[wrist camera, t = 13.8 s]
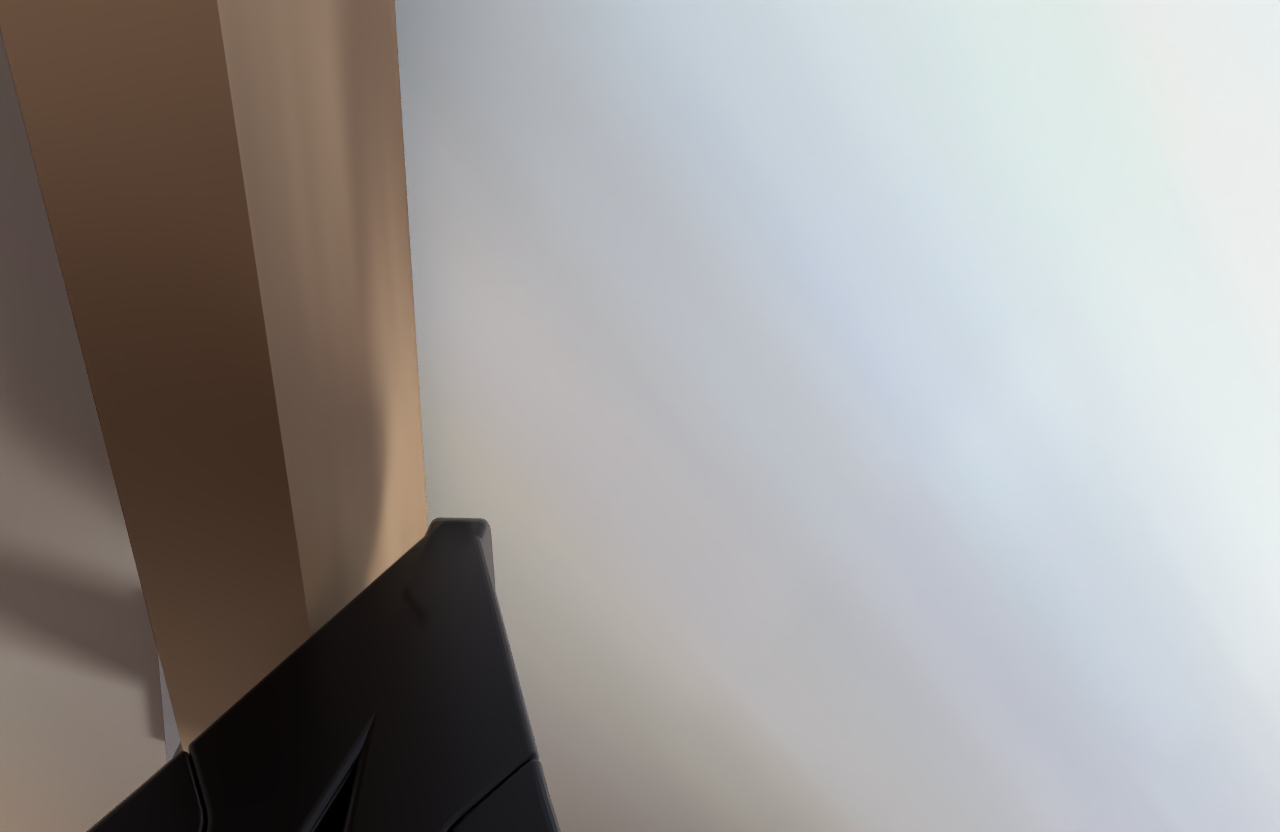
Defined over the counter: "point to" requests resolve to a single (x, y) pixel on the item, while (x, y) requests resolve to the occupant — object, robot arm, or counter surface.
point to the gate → (235, 305)
